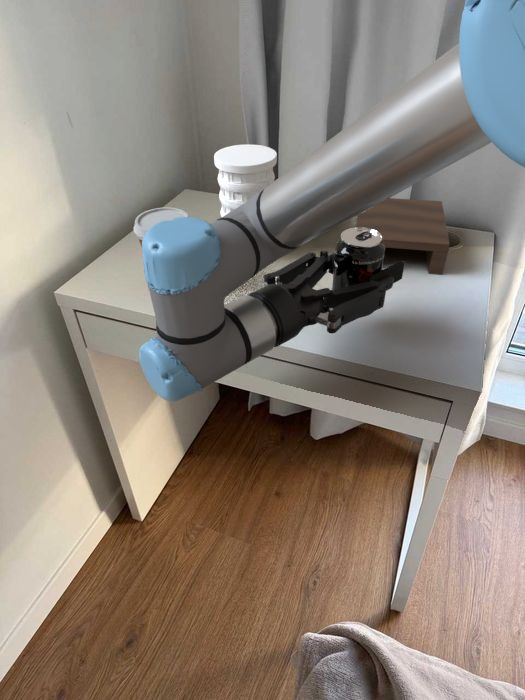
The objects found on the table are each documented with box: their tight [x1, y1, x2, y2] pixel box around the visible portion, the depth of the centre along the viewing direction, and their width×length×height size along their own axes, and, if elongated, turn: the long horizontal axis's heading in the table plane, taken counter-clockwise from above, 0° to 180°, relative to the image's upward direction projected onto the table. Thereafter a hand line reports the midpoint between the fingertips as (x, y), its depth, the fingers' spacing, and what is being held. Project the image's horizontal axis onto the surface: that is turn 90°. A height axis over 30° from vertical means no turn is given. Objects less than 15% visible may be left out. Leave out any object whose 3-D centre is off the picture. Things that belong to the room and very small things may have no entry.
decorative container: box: [213, 143, 278, 218], centre depth 91 cm, size 12×12×18 cm
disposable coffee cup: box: [133, 206, 189, 248], centre depth 84 cm, size 10×10×12 cm
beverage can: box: [331, 226, 386, 319], centre depth 71 cm, size 7×7×12 cm
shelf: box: [355, 197, 451, 276], centre depth 94 cm, size 18×16×6 cm
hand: (380, 259), depth 73 cm, fingers closed on beverage can, 7 cm apart
